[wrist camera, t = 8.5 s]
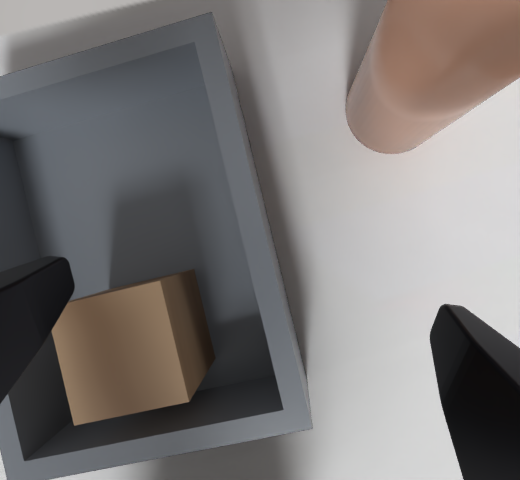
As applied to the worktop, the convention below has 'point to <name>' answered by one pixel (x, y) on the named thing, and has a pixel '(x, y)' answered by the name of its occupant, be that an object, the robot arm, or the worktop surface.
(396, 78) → the terracotta cylinder
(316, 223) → the worktop surface
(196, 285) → the walnut cube
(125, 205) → the tote
